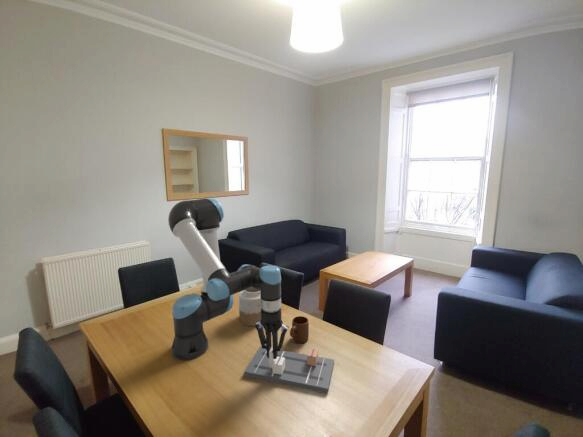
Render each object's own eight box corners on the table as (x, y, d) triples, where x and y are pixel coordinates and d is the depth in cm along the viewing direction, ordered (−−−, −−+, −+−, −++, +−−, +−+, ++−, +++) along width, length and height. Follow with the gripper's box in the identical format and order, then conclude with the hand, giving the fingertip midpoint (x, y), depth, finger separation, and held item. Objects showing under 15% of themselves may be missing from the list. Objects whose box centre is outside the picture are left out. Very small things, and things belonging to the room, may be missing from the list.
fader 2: (307, 364, 114) (307, 355, 114) (309, 357, 118) (309, 348, 118) (316, 366, 113) (316, 356, 113) (318, 359, 118) (318, 349, 117)
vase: (274, 316, 155) (274, 286, 152) (256, 329, 142) (255, 298, 139) (252, 308, 163) (251, 280, 160) (233, 321, 151) (231, 290, 147)
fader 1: (272, 372, 110) (272, 363, 109) (276, 365, 114) (276, 355, 113) (281, 374, 109) (281, 364, 108) (285, 367, 113) (285, 357, 112)
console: (244, 376, 112) (244, 371, 111) (260, 350, 127) (260, 346, 126) (327, 393, 103) (327, 388, 102) (334, 364, 118) (334, 359, 118)
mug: (298, 351, 126) (298, 331, 125) (283, 345, 130) (283, 326, 128) (311, 337, 136) (311, 318, 134) (297, 332, 140) (297, 314, 138)
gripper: (250, 310, 106) (252, 368, 110) (284, 315, 102) (285, 375, 106) (258, 301, 113) (260, 356, 117) (290, 305, 109) (291, 362, 113)
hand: (272, 365), depth 112 cm, fingers closed
